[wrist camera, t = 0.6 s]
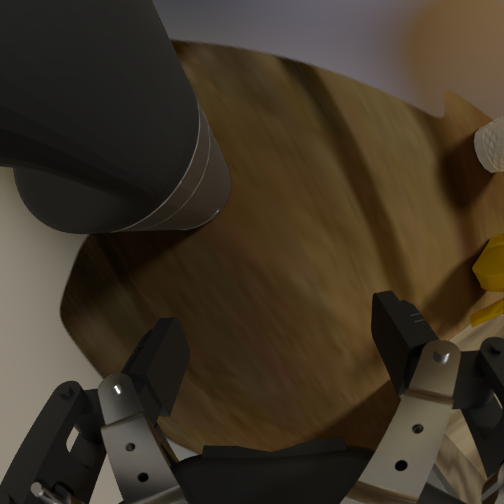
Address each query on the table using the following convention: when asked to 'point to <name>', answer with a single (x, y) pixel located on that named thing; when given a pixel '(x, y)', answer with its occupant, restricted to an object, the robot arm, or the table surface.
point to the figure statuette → (490, 278)
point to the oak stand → (465, 427)
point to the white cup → (491, 145)
